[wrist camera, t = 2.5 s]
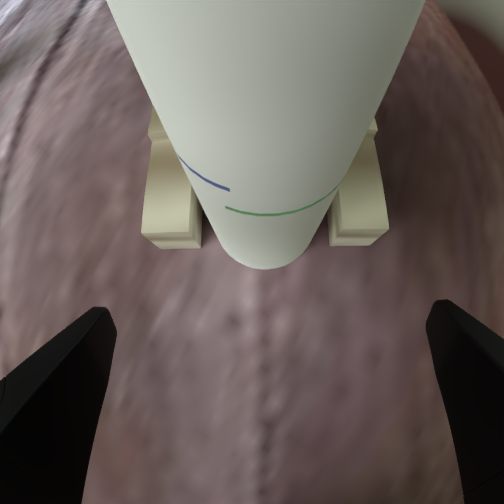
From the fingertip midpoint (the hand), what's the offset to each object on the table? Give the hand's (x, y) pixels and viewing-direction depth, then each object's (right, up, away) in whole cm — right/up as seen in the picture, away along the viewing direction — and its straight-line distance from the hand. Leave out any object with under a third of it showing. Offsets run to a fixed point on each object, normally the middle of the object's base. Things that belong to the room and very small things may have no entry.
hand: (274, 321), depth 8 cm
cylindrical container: (0, +4, +15) cm, 15 cm away
